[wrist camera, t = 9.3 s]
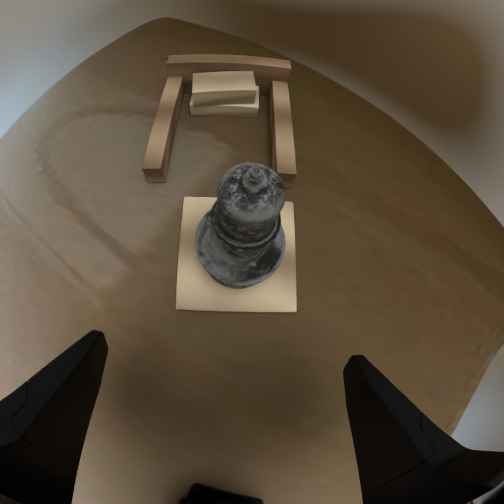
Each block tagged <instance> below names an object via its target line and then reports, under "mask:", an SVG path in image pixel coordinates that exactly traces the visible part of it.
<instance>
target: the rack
mask: <svg viewBox="0 0 504 504" xmlns="http://www.w3.org/2000/svg"><path fill="white" fill-rule="evenodd" d="M166 66H167V73H168V79H167V82H166V85H165V88H164V91H163V94H162V97H161V100H160V103H159V107H158V110H157V113H156V117H155V120H154V124H153V127H152V131H151V134H150V138H149V142H148V146H147V150H146V154H145V158H144V163H143V167H142V170H143V172H144V174H145V176H146V178H147V181H148V183H166V177H167V171H168V165H169V160H170V154H171V149H172V144H173V139H174V135H175V130H176V125H177V121H178V116H179V112H180V108H181V104H182V100H183V96H184V92H192V86H193V73H206V72H225V71H253V75H254V79H255V84H256V86H259V95H266V96H269V108H270V133H271V163H272V170H273V171H275V172H276V173H277V174H278V175H279V177H280V178H281V179H282V181H283V184H284V186H285V188H290V187H291V185H292V183H293V181H294V179H295V177H296V175H297V174H296V161H295V149H294V139H293V128H292V118H291V109H290V100H289V92H288V84H287V82H288V78H289V75H290V71H291V64H290V61H288V60H281V59H273V58H264V57H254V56H240V55H216V54H194V55H170V56H169V58H168V60H167V63H166Z"/></svg>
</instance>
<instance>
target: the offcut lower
mask: <svg viewBox="0 0 504 504" xmlns="http://www.w3.org/2000/svg"><path fill="white" fill-rule="evenodd" d="M256 89H257V92H256V98H255V104H233V105H213V106H199V107H194V106H193V96H192V97H191V101H190V113H191V115H217V116H236V117H250V118H257V114H258V109H259V86H256Z"/></svg>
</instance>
